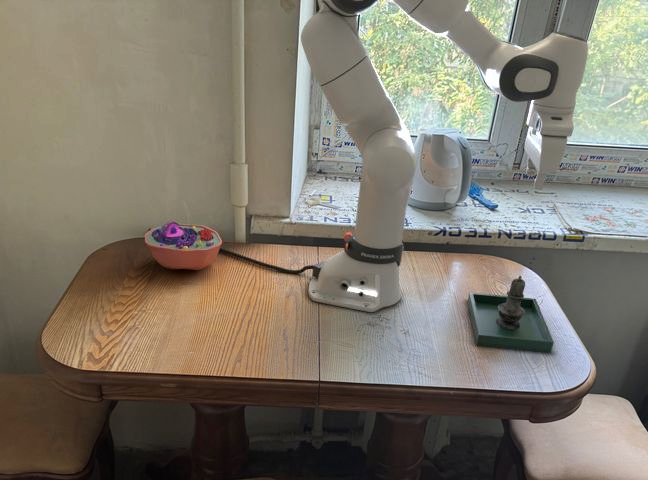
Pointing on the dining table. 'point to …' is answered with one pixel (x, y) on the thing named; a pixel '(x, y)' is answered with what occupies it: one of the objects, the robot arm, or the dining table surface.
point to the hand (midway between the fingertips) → (533, 181)
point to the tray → (491, 334)
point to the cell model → (183, 245)
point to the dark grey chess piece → (512, 306)
